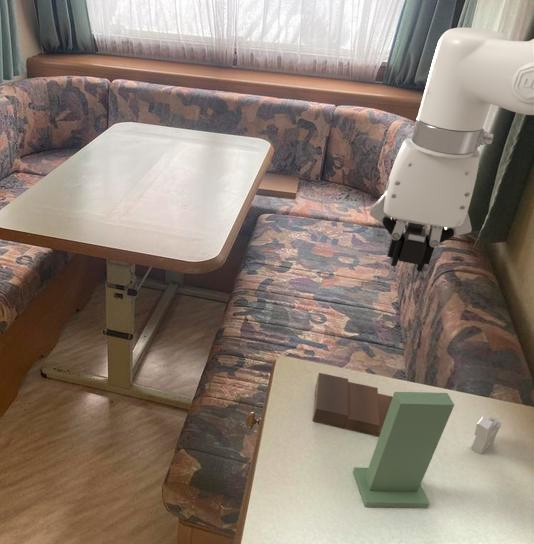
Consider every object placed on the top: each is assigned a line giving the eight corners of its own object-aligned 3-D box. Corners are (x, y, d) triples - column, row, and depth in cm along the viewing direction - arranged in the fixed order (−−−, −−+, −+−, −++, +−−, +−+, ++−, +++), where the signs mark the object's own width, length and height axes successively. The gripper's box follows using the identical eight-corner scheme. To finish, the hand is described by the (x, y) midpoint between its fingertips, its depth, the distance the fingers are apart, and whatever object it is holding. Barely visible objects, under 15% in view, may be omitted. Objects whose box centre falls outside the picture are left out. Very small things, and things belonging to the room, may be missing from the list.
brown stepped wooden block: (404, 404, 98) (409, 391, 97) (408, 443, 91) (413, 430, 89) (315, 385, 101) (318, 372, 100) (312, 421, 94) (316, 408, 92)
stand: (427, 507, 81) (469, 416, 71) (364, 506, 81) (398, 414, 71) (411, 472, 86) (448, 382, 77) (352, 471, 86) (382, 381, 76)
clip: (418, 248, 82) (426, 223, 80) (420, 265, 78) (428, 239, 76) (398, 244, 82) (405, 219, 80) (398, 261, 78) (406, 235, 76)
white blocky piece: (482, 435, 93) (499, 399, 89) (492, 442, 92) (510, 405, 88) (461, 457, 89) (478, 420, 85) (472, 464, 88) (490, 427, 84)
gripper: (511, 137, 72) (465, 263, 82) (377, 119, 76) (348, 241, 86) (522, 157, 66) (470, 290, 76) (376, 136, 70) (344, 265, 80)
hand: (406, 263), depth 81 cm, fingers closed on clip, 2 cm apart
